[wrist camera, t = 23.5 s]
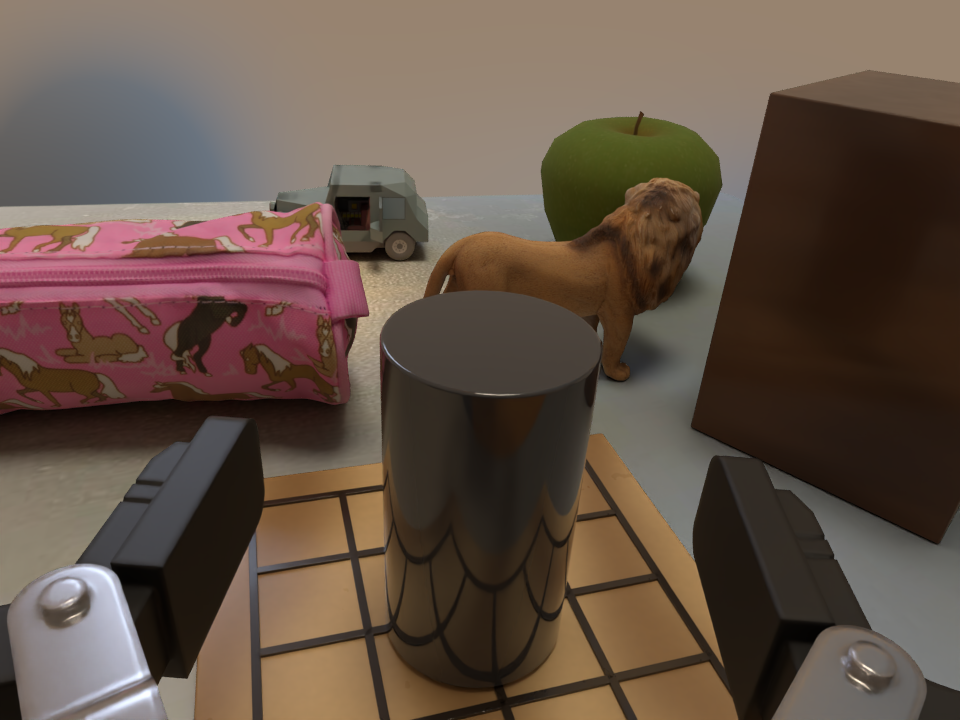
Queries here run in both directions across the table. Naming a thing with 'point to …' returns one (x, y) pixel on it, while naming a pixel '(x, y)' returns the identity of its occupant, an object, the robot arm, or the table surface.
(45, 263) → the pencil case
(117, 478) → the table surface
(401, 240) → the toy car
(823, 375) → the walnut plinth
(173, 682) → the table surface
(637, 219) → the lion figurine
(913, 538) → the table surface
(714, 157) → the apple
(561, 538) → the glossy dark cylinder
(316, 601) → the grid board
